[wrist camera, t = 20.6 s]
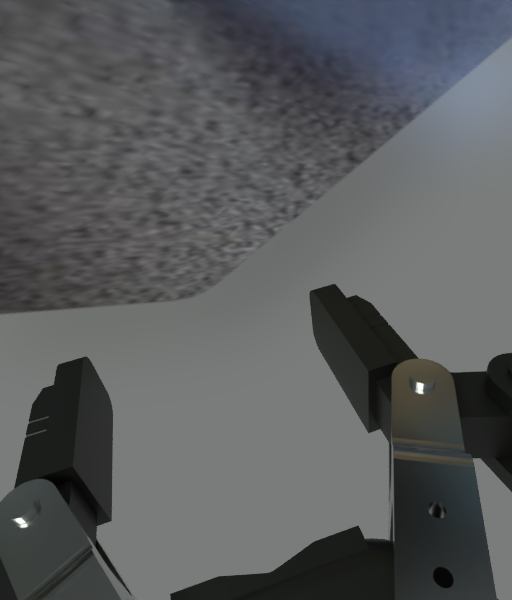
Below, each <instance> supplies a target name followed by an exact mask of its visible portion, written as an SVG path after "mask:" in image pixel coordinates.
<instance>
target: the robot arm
mask: <svg viewBox="0 0 512 600" xmlns="http://www.w3.org/2000/svg"><path fill="white" fill-rule="evenodd" d="M310 305H311V315H312V324H313V333H314V337H315V340H316V343H317V346H318V347H319V350H320V352H321V353H322V355H323V357H324V358H325V360H326V362H327V363H328V365H329V367H330V369H331V370H332V372H333V374H334V375H335V377H336V379H337V380H338V382H339V384H340V385H341V387H342V389H343V391H344V392H345V394H346V396H347V397H348V399H349V400H350V402H351V404H352V406H353V408H354V409H355V411H356V413H357V414H358V416H359V418H360V419H361V421H362V423H363V424H364V426H365V428H366V429H367V431H368V433H370V432H373V431H376V430H378V429H381V430H382V432H383V434H384V435H385V437H386V438H387V440H388V442H389V530H388V532H389V533H388V540H385V539H364V536H363V534H362V532H361V530H360V528H359V526H356V527H353V528H350V529H348V530H345V531H342V532H339V533H337V534H334V535H331V536H328V537H326V538H323V539H320V540H318V541H315V542H313V543H312V544H310V545H309V546H308V547H306V548H305V549H303V550H302V551H301V552H299V553H298V554H296V555H295V556H294V557H292V558H291V559H290V560H288V561H287V562H285V563H284V564H283V565H281V566H280V567H278V568H277V569H276V570H274V571H272V572H270V573H263V574H250V575H234V576H219V577H216V578H213V579H211V580H208V581H205V582H202V583H200V584H197V585H194V586H191V587H188V588H186V589H183V590H180V591H177V592H175V593H172V594H170V595H171V600H498V599H497V597H496V591H495V585H494V579H493V574H492V567H491V562H490V556H489V550H488V544H487V538H486V532H485V527H484V520H483V515H482V509H481V503H480V497H479V491H478V485H477V479H476V473H475V467H474V462H473V459H472V458H481V459H482V460H483V461H484V462H485V464H486V465H487V466H488V467H489V468H490V469H491V470H492V471H493V472H494V473H495V474H496V476H497V477H498V478H499V479H500V480H501V481H502V482H503V483H504V484H505V485H506V486H507V487H508V488H509V489H510V490H511V492H512V353H507V354H501V355H498V356H496V357H494V358H493V359H492V360H491V361H490V362H489V365H488V368H487V371H486V372H462V373H451V372H449V371H448V370H447V369H446V368H445V367H443V366H442V365H440V364H438V363H436V362H434V361H431V360H426V359H419V358H418V357H417V356H416V355H415V354H414V353H413V351H412V350H411V349H410V348H409V347H408V346H407V345H406V343H405V342H404V341H403V340H402V339H401V338H400V336H399V335H398V334H397V333H396V332H395V331H394V329H392V327H391V326H390V325H388V322H387V321H386V320H385V319H384V318H383V317H382V316H381V315H380V313H379V312H378V311H377V310H376V309H375V307H374V306H373V305H372V304H371V303H370V302H368V301H366V300H364V299H362V298H360V297H358V296H357V295H355V296H352V297H349V298H346V297H345V296H344V294H343V293H342V292H341V290H340V289H339V288H338V287H337V286H336V285H335V284H332V285H329V286H325V287H322V288H318V289H315V290H312V291H310ZM29 423H30V424H28V427H27V432H26V435H27V437H26V438H25V441H24V446H23V450H22V455H21V460H20V464H19V469H18V473H17V479H16V483H15V487H14V489H13V490H12V491H11V492H10V493H8V494H7V495H6V497H4V498H3V500H2V501H1V502H0V600H136V598H135V597H134V595H133V593H132V592H131V590H130V589H129V587H128V586H127V584H126V582H125V581H124V579H123V578H122V576H121V575H120V573H119V571H118V570H117V568H116V567H115V565H114V564H113V562H112V560H111V559H110V558H109V556H108V554H107V553H106V551H105V549H104V548H103V546H102V545H101V543H100V542H99V541H98V540H97V538H96V530H97V526H98V525H101V524H104V523H107V522H110V521H111V518H112V517H111V515H112V440H113V438H112V435H113V411H112V405H111V401H110V398H109V395H108V393H107V391H106V389H105V387H104V385H103V383H102V382H101V380H100V378H99V376H98V374H97V372H96V370H95V368H94V366H93V365H92V363H91V361H90V360H89V358H88V357H83V358H79V359H76V360H73V361H69V362H65V363H62V364H59V365H58V366H57V370H56V376H55V381H54V385H52V386H49V387H46V388H43V389H42V391H41V392H40V394H39V396H38V397H37V398H36V400H35V401H34V403H33V405H32V409H31V414H30V418H29Z"/></svg>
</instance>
